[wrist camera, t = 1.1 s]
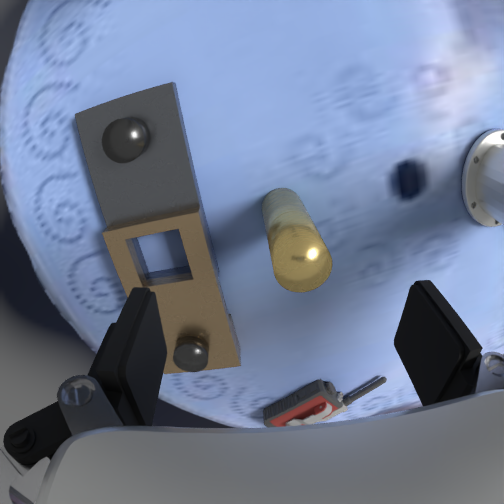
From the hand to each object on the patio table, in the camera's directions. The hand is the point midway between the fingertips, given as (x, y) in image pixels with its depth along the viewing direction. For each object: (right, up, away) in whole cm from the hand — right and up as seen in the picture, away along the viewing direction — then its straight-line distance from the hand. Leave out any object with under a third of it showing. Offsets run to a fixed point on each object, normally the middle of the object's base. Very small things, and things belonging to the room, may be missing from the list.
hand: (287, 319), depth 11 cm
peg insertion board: (-10, +3, +22) cm, 25 cm away
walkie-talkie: (+10, -20, +36) cm, 42 cm away
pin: (+2, +7, +21) cm, 22 cm away
